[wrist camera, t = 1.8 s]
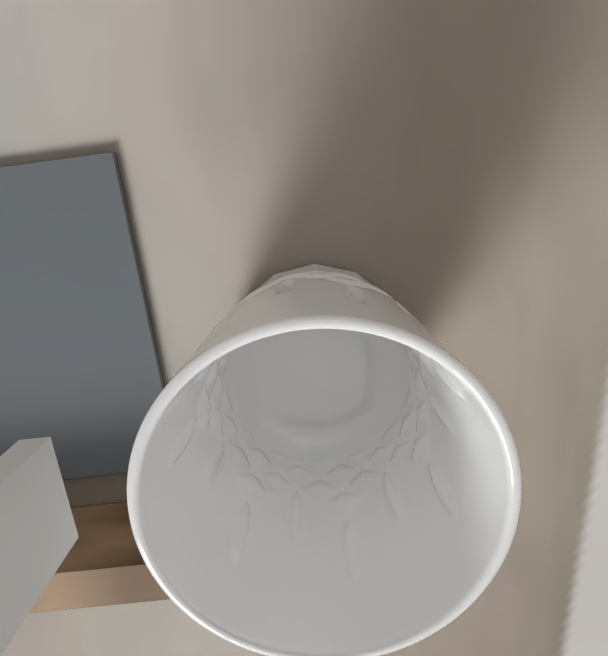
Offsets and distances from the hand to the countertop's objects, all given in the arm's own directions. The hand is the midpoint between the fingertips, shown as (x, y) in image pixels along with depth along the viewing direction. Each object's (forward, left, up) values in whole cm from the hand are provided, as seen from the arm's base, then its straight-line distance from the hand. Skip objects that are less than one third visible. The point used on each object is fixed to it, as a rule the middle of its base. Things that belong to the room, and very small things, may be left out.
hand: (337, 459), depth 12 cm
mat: (-12, +2, -8) cm, 15 cm away
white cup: (0, 0, -9) cm, 9 cm away
